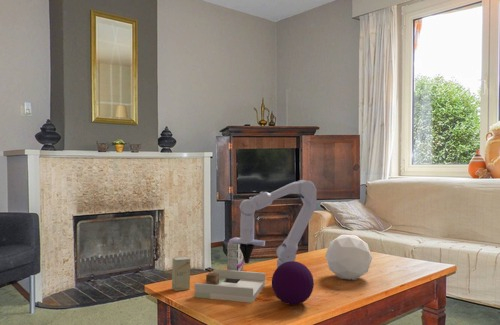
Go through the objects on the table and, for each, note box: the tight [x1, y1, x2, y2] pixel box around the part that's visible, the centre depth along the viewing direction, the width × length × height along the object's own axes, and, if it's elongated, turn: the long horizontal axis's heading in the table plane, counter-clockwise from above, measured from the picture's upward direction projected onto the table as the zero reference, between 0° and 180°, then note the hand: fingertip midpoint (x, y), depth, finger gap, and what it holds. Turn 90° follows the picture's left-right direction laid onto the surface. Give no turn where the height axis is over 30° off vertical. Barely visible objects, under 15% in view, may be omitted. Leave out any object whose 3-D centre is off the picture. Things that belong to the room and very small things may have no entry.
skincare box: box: [171, 256, 191, 292], centre depth 165 cm, size 6×4×12 cm
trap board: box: [194, 268, 266, 304], centre depth 163 cm, size 22×22×5 cm
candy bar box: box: [226, 236, 244, 271], centre depth 183 cm, size 11×5×16 cm, turn 168°
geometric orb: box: [325, 234, 373, 281], centre depth 183 cm, size 19×20×20 cm
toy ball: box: [271, 260, 315, 306], centre depth 149 cm, size 15×15×15 cm
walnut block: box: [205, 272, 219, 285], centre depth 165 cm, size 4×4×4 cm
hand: (246, 262), depth 170 cm, fingers closed
